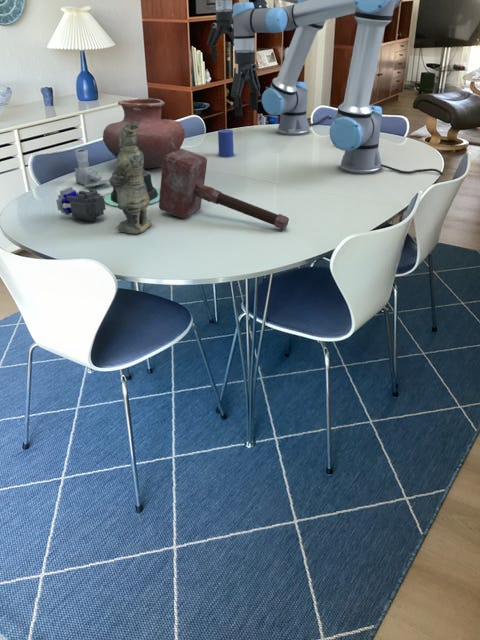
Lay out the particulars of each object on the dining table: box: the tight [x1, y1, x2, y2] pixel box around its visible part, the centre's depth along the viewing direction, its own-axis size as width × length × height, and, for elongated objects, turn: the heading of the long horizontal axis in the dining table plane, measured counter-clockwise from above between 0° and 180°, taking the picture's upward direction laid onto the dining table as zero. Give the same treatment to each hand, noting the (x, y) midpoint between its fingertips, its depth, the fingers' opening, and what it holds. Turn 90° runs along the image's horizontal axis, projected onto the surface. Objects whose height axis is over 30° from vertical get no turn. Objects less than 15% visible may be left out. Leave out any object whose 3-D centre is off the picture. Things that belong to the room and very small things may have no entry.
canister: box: [217, 129, 235, 158], centre depth 231 cm, size 6×6×10 cm
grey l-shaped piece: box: [74, 148, 110, 188], centre depth 197 cm, size 9×12×15 cm
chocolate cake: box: [103, 168, 160, 207], centre depth 186 cm, size 15×19×20 cm
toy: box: [56, 186, 107, 222], centre depth 168 cm, size 9×9×15 cm
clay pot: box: [102, 98, 186, 169], centre depth 213 cm, size 30×30×25 cm
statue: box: [108, 121, 153, 235], centre depth 154 cm, size 11×9×30 cm
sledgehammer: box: [158, 148, 290, 231], centre depth 163 cm, size 17×10×40 cm
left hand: (225, 62), depth 261 cm, fingers open, 13 cm apart
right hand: (246, 113), depth 212 cm, fingers open, 13 cm apart
